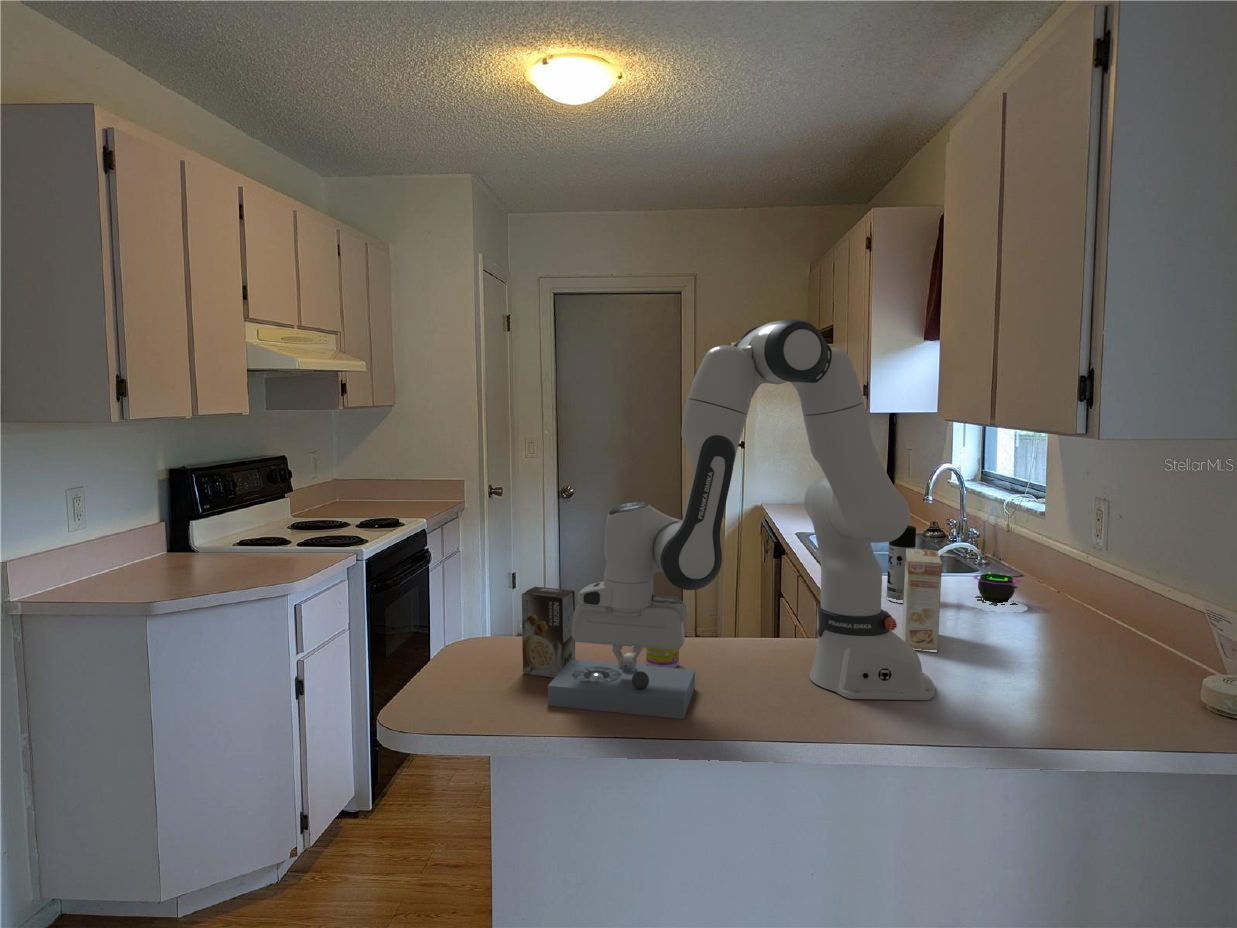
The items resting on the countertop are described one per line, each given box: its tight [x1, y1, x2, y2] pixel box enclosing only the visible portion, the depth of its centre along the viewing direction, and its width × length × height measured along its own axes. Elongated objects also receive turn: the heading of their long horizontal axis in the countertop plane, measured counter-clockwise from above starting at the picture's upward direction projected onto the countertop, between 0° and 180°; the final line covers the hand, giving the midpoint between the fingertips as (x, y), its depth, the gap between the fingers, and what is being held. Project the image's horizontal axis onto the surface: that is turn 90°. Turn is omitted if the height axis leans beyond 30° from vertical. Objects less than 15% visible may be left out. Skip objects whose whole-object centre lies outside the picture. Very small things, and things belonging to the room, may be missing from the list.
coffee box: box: [521, 586, 576, 679], centre depth 152 cm, size 9×6×16 cm
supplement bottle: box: [645, 648, 680, 668], centre depth 157 cm, size 7×7×13 cm
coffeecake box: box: [901, 548, 943, 651], centre depth 172 cm, size 15×7×20 cm, turn 161°
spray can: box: [886, 524, 917, 601], centre depth 206 cm, size 7×7×20 cm
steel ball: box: [587, 673, 605, 680], centre depth 141 cm, size 4×4×4 cm
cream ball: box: [623, 652, 638, 665], centre depth 144 cm, size 3×3×3 cm
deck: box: [547, 658, 696, 720], centre depth 140 cm, size 24×14×4 cm, turn 77°
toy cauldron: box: [972, 561, 1022, 606], centre depth 203 cm, size 15×15×11 cm
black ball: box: [632, 671, 649, 689], centre depth 135 cm, size 3×3×3 cm
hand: (627, 668), depth 140 cm, fingers closed
